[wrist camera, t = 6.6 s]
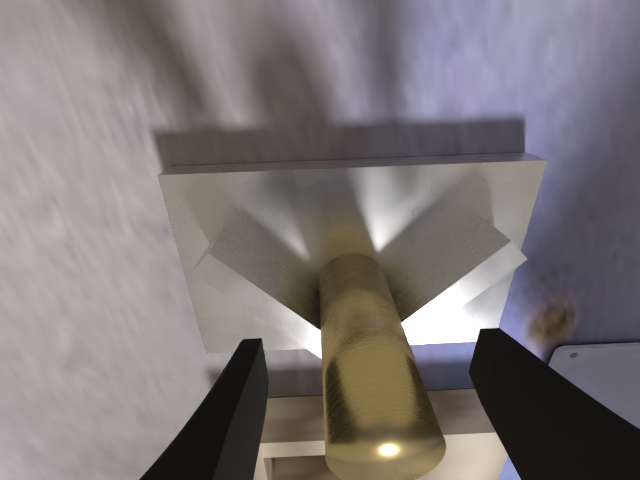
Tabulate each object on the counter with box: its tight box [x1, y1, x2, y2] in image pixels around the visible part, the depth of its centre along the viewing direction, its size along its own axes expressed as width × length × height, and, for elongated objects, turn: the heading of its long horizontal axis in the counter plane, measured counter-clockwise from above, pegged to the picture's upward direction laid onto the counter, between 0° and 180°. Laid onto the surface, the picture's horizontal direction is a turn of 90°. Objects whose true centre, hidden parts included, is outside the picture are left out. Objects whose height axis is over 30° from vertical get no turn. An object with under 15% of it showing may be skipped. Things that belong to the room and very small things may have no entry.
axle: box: [319, 253, 446, 480], centre depth 12 cm, size 3×3×8 cm
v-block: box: [157, 153, 548, 359], centre depth 15 cm, size 16×10×4 cm, turn 92°
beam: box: [253, 389, 508, 480], centre depth 22 cm, size 18×8×3 cm, turn 92°
